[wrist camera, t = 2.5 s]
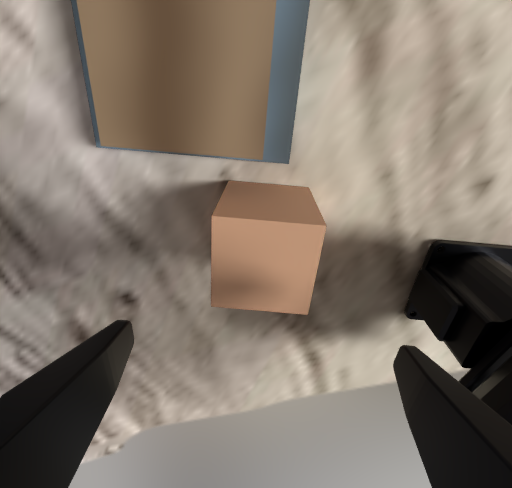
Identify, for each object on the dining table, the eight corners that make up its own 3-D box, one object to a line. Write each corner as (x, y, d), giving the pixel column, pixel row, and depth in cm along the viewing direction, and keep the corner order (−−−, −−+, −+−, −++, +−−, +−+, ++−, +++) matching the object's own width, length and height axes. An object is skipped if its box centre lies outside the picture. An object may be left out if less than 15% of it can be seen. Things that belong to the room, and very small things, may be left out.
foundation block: (322, -108, 12) (337, -170, 9) (287, 161, 17) (291, 172, 14) (59, -131, 12) (-3, -199, 9) (103, 145, 17) (72, 153, 14)
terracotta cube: (308, 187, 18) (326, 225, 12) (297, 256, 20) (307, 314, 14) (228, 180, 18) (211, 216, 12) (226, 250, 20) (211, 306, 14)
